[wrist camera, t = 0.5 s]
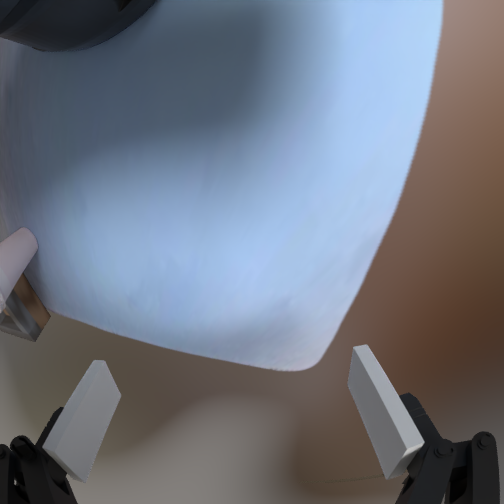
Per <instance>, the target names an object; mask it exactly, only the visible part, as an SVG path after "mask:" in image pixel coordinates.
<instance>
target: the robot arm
mask: <svg viewBox="0 0 504 504" xmlns="http://www.w3.org/2000/svg"><path fill="white" fill-rule="evenodd" d="M155 2H156V0H0V37H1V38H5V39H8V40H11V41H14V42H18V43H21V44H24V45H28V46H30V47H32V48H34V49H36V50H39V51H44V52H65V51H77V50H82V49H86V48H89V47H92V46H95V45H97V44H100V43H102V42H104V41H106V40H108V39H110V38H111V37H113V36H115V35H116V34H118V33H119V32H121V31H122V30H124V29H125V28H127V27H128V26H129V25H131V24H132V23H133V22H134V21H136V20H137V19H138V18H139V17H140V16H141V15H143V14H144V13H145V12H146V11H147V10H148V9H149V8H150V7H151V6H152V5H153V4H154V3H155ZM348 387H349V390H350V392H351V394H352V396H353V398H354V401H355V403H356V406H357V408H358V410H359V413H360V415H361V418H362V420H363V423H364V425H365V427H366V430H367V432H368V435H369V437H370V440H371V442H372V444H373V447H374V449H375V452H376V454H377V457H378V459H379V462H380V464H381V467H382V470H383V472H384V475H385V477H386V480H388V479H391V478H394V477H397V476H399V475H402V474H403V473H404V471H405V470H406V469H407V470H408V473H409V475H408V476H407V478H406V479H405V480H404V482H403V483H402V484H404V487H403V488H402V491H401V493H400V495H399V497H398V499H397V501H396V503H395V504H441V502H442V499H443V497H444V494H445V502H444V504H500V484H499V467H498V456H497V447H496V441H495V438H494V436H493V435H492V434H491V433H489V432H479V433H477V434H476V435H475V436H474V437H473V439H472V440H469V441H464V442H458V443H452V442H451V441H450V440H447V439H443V438H442V437H441V436H440V434H439V433H438V431H437V429H436V428H435V426H434V425H433V423H432V421H431V420H430V418H429V416H428V415H427V414H426V412H425V410H424V408H422V405H421V404H420V402H419V401H418V399H417V398H416V397H414V396H413V395H412V394H410V393H406V394H403V395H400V396H398V394H397V393H396V391H395V389H394V388H393V386H392V384H391V383H390V381H389V379H388V378H387V376H386V374H385V373H384V371H383V370H382V368H381V366H380V365H379V363H378V361H377V360H376V358H375V356H374V355H373V353H372V352H371V350H370V349H369V347H368V346H367V345H362V346H357V347H354V348H353V355H352V361H351V367H350V373H349V379H348ZM120 397H121V394H120V392H119V390H118V388H117V386H116V384H115V382H114V380H113V378H112V375H111V373H110V371H109V369H108V366H107V364H106V362H105V361H102V360H94V361H93V362H92V364H91V366H90V367H89V368H88V370H87V372H86V373H85V375H84V376H83V378H82V379H81V381H80V383H79V384H78V386H77V388H76V389H75V391H74V392H73V394H72V396H71V397H70V399H69V401H68V402H67V404H66V406H65V407H64V408H63V407H60V408H59V409H58V410H56V411H55V412H54V413H53V415H52V417H51V418H50V421H49V422H48V423H47V427H45V429H44V430H43V432H42V434H41V436H40V438H39V439H38V441H37V443H36V445H34V444H33V443H32V442H31V441H30V440H29V439H28V438H27V437H26V436H23V435H22V436H17V437H15V438H14V439H13V440H12V442H11V444H10V449H11V450H12V451H11V450H10V449H9V448H8V446H6V445H4V444H0V504H78V503H77V501H76V499H75V497H74V494H73V492H72V489H71V487H70V484H69V481H68V480H67V478H66V474H69V475H70V476H71V477H72V478H73V479H75V480H78V481H80V482H83V483H86V481H87V478H88V475H89V473H90V470H91V467H92V465H93V462H94V460H95V457H96V455H97V452H98V449H99V447H100V445H101V442H102V439H103V437H104V435H105V432H106V430H107V427H108V425H109V423H110V420H111V418H112V416H113V413H114V411H115V409H116V406H117V404H118V402H119V400H120ZM14 479H15V480H16V485H15V484H14Z"/></svg>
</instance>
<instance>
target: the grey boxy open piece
mask: <svg viewBox="0 0 504 504" xmlns="http://www.w3.org/2000/svg"><path fill="white" fill-rule="evenodd" d="M5 303H6V307H5V309H3V311H2V312H1V313H0V330H1V331H3V332H6V333H8V334H11V335H15V336H17V337H21V338H24V339H27V340H30V341H33V342H36V340H37V338H38V337H39V335H40V333H41V331H42V330H43V328H44V326H45V325H46V323H47V322H48V320H49V318H50V317H51V316H50V314H49V313H48V311H47V310H46V309H45V307H44V306H43V304H42V303H41V301H40V300H39V298H38V297H37V295H36V293H35V292H34V290H33V289H32V287H31V286H30V284H29V282H28V281H27V279H26V277H25V276H24V274H23V273H22V274H21V276H20V278H19V279H18V281H17V283H16V284H15V286H14V288H13V289H12V291H11V293H10V295H9V296H8V298H7V300H6V302H5Z"/></svg>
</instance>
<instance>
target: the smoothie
mask: <svg viewBox="0 0 504 504" xmlns="http://www.w3.org/2000/svg"><path fill="white" fill-rule="evenodd" d="M37 250H38V243H37V240H36V238H35V236H34V235H33V233H32V232H31V231H30V230H29V229H27V228H25V227H21V228H20V229H18V230H17V231H16V232H14V233H13V234H12V235H10V236H9V237H7V238H6V239H5V240H3V241H2V242H1V243H0V313H1V312H2V311H3V309H5V307H6V303H5V302H6V300H7V298H8V296H9V295H10V293H11V291H12V289H13V288H14V286H15V284H16V283H17V281H18V279H19V278H20V276H21V274H22V273H23V271H24V270H25V268H26V267H27V265H28V263H29V262H30V260H31V259H32V257H33V256H34V254H35V253H36V252H37Z"/></svg>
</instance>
